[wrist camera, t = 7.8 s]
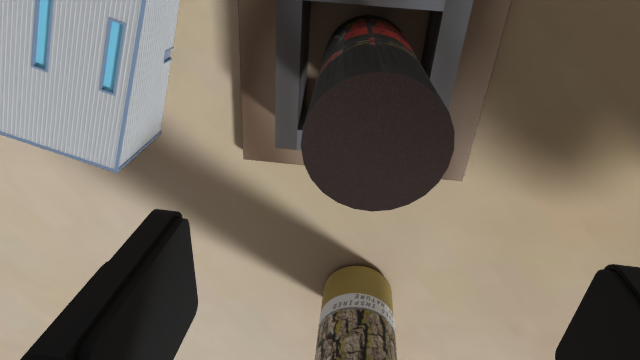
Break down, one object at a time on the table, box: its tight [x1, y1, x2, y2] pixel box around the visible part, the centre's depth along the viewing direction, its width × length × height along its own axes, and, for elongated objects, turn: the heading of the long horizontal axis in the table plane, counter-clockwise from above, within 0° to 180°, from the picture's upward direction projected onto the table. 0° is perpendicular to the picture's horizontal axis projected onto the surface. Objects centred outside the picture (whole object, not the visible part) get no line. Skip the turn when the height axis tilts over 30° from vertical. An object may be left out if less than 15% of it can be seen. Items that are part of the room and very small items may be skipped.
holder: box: [238, 0, 512, 181], centre depth 28 cm, size 18×18×6 cm
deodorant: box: [301, 15, 455, 211], centre depth 22 cm, size 6×6×15 cm
